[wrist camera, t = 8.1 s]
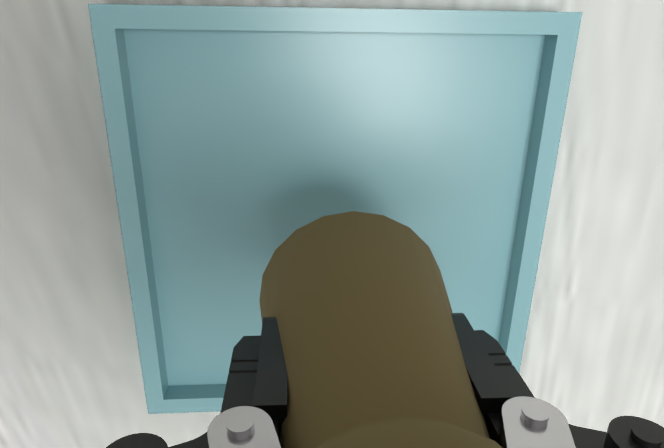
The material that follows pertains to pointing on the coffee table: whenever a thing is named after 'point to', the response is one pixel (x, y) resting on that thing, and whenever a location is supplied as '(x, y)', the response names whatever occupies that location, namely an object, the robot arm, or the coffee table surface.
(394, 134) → the tray
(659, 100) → the coffee table surface
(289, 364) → the cork
